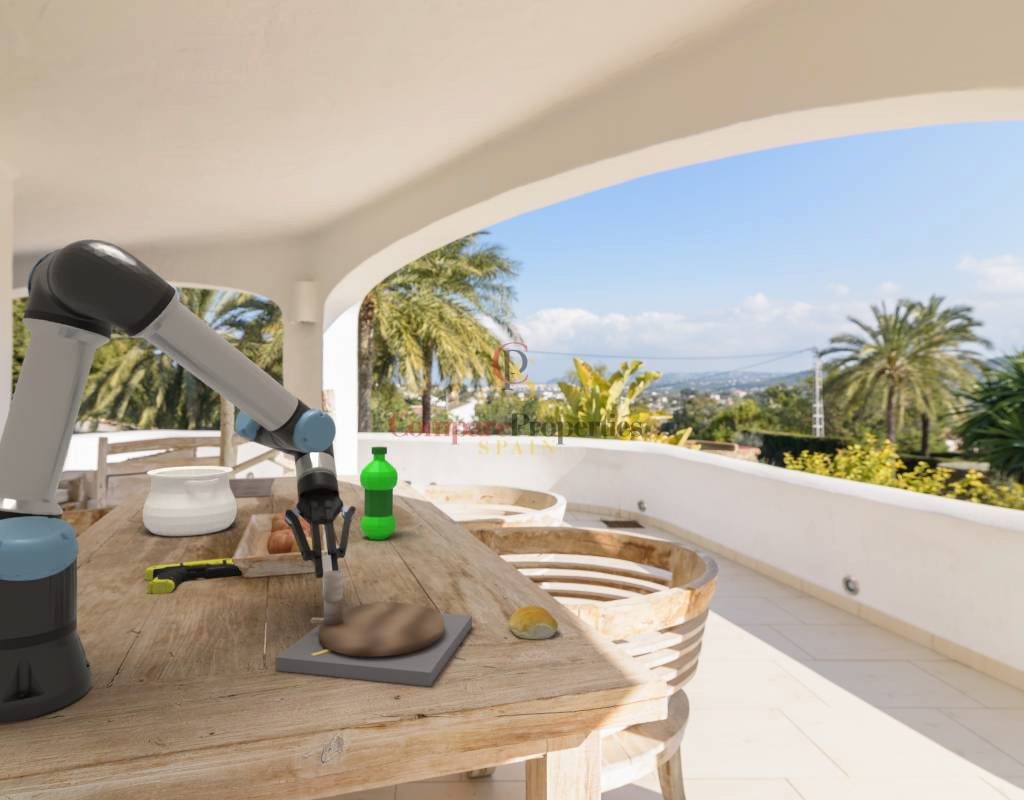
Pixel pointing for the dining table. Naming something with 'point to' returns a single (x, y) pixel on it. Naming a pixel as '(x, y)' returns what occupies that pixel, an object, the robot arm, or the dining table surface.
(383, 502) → the plastic bottle
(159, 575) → the stun gun
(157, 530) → the pot
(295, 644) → the base
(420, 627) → the dial
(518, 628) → the bread roll
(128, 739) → the dining table surface
